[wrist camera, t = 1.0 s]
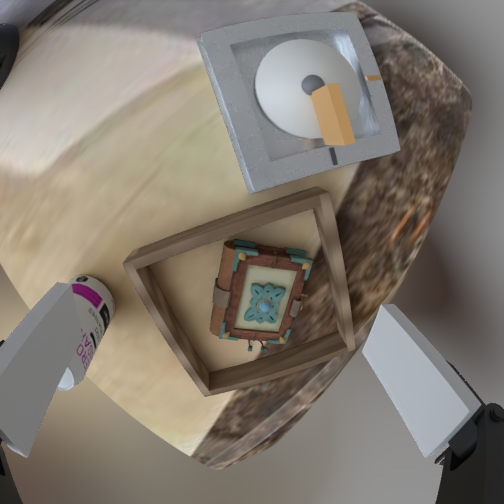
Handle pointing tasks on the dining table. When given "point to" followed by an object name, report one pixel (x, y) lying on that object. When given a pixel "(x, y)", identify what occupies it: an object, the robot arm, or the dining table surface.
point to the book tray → (224, 228)
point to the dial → (309, 91)
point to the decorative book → (258, 292)
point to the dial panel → (262, 129)
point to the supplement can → (88, 325)
